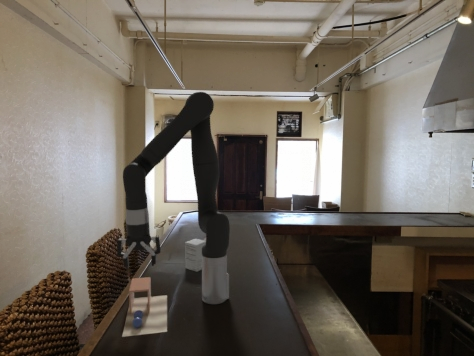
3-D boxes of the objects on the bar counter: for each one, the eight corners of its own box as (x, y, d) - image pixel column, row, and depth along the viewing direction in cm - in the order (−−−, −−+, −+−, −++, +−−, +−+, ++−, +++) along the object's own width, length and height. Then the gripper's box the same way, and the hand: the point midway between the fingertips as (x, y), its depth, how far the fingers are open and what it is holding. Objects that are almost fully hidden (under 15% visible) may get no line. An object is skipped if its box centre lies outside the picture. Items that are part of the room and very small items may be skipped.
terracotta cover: (132, 299, 118) (132, 278, 117) (151, 297, 119) (150, 277, 118) (129, 313, 108) (129, 290, 107) (149, 311, 109) (149, 289, 109)
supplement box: (195, 263, 156) (195, 238, 154) (207, 267, 151) (207, 240, 150) (184, 268, 150) (184, 241, 148) (196, 272, 145) (196, 244, 144)
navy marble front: (140, 323, 102) (140, 314, 102) (143, 328, 100) (143, 318, 99) (131, 326, 101) (130, 317, 100) (133, 331, 98) (133, 321, 98)
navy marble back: (141, 316, 107) (141, 307, 106) (144, 320, 104) (144, 311, 104) (132, 318, 105) (132, 310, 105) (135, 323, 102) (134, 314, 102)
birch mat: (130, 301, 119) (130, 298, 119) (167, 297, 121) (167, 295, 121) (122, 340, 95) (122, 336, 95) (167, 334, 98) (167, 331, 98)
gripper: (159, 217, 115) (161, 260, 117) (117, 219, 113) (120, 264, 115) (158, 222, 108) (160, 268, 110) (113, 225, 105) (116, 273, 107)
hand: (140, 266), depth 112 cm, fingers open, 8 cm apart
